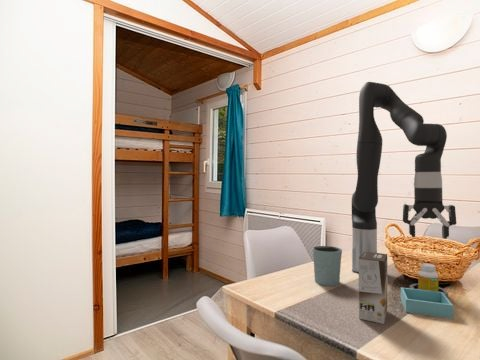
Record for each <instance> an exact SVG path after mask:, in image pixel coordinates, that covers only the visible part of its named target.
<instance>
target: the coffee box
mask: <svg viewBox="0 0 480 360" xmlns="http://www.w3.org/2000/svg"><path fill="white" fill-rule="evenodd" d="M387 313H388V253H382V252H377V253H373V252H364V253H363V254H362V255H361V256H360V257H359V272H358V319H360V320H363V321H364V320H365V321H368V322H369V321H370V322H372V323H374V322H375V323H379V324H382V325H383V324H385V322H386V318H387V315H388V314H387Z"/></svg>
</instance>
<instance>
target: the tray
mask: <svg viewBox="0 0 480 360" xmlns="http://www.w3.org/2000/svg"><path fill="white" fill-rule="evenodd" d="M400 301H401V303H402V306H403V308H404V312H405V313H410V314H417V315H425V316H430V317H439V318H446V319H454V305H453V303H452V302H451V301H450V300H449V297H448V298H447V297H446V296H445V294H444V293H443V292H437V291H428V290H419V289H411V288H409V287H400Z"/></svg>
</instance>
